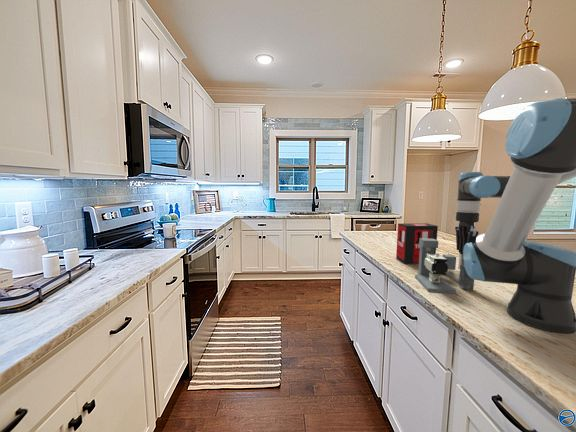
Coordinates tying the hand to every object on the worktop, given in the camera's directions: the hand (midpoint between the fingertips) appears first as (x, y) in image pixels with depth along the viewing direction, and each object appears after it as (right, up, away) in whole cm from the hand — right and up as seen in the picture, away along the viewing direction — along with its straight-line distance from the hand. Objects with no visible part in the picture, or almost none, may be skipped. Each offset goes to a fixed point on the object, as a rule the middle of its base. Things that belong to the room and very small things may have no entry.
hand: (462, 269), depth 104 cm
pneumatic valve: (-11, -6, +1) cm, 13 cm away
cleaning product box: (-3, -3, +34) cm, 34 cm away
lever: (+1, -6, +5) cm, 8 cm away
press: (-6, -6, +5) cm, 10 cm away
